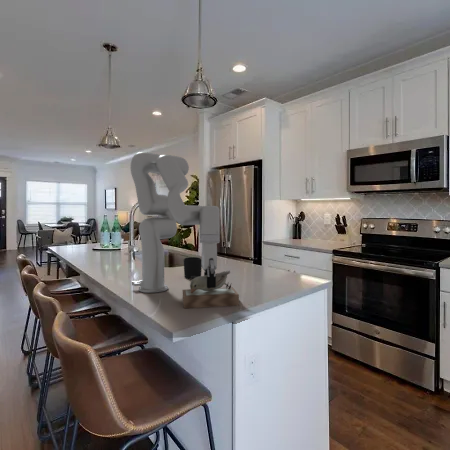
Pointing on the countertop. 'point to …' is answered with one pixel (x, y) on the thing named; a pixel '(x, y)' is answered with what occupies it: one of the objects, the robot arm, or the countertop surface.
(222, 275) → the decorative bird
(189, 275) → the pen holder
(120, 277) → the countertop surface
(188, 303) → the walnut plinth
